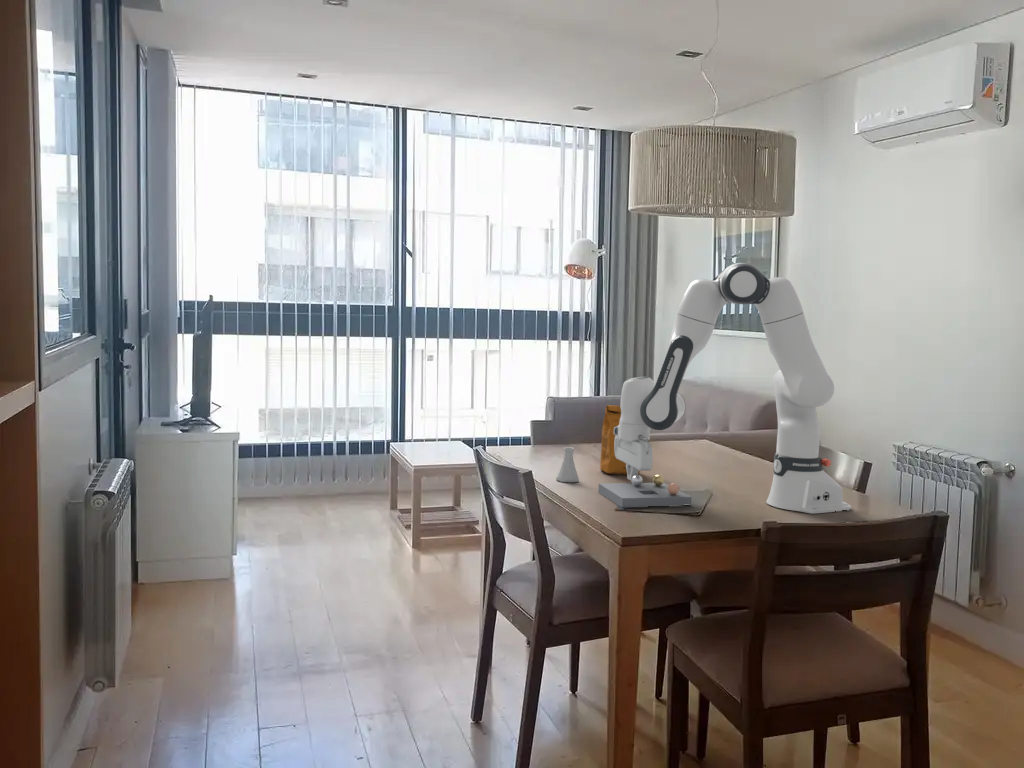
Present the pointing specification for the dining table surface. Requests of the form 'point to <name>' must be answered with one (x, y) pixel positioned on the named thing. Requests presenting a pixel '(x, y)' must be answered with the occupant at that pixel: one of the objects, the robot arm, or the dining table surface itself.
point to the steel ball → (637, 480)
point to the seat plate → (642, 495)
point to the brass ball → (658, 480)
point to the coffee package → (611, 442)
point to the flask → (568, 467)
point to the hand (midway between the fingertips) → (631, 480)
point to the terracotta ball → (673, 488)
